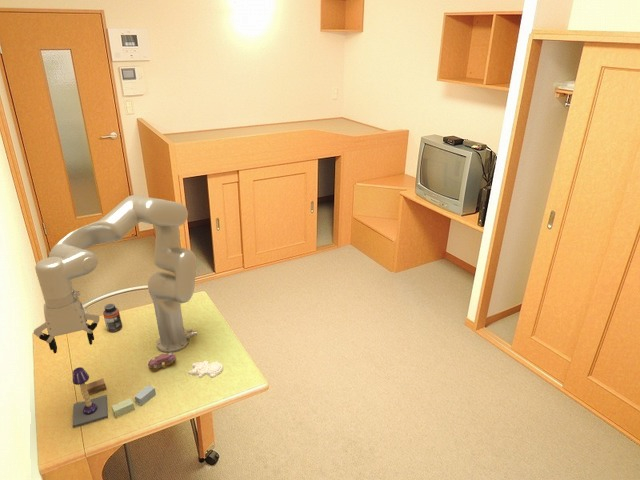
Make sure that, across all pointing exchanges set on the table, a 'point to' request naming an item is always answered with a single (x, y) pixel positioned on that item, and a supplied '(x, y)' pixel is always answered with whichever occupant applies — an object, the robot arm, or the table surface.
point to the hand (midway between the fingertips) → (73, 346)
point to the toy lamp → (84, 389)
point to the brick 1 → (96, 387)
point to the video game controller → (162, 360)
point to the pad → (84, 419)
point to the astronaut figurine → (206, 369)
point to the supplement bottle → (112, 318)
